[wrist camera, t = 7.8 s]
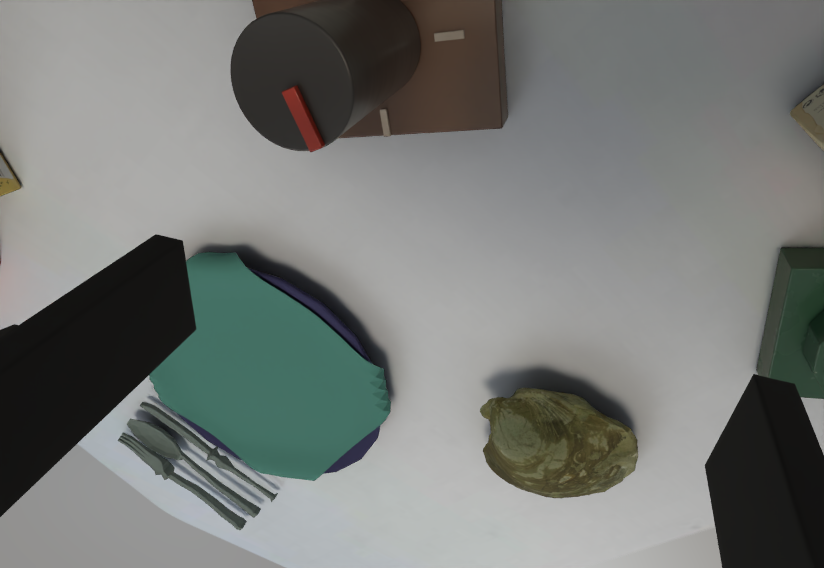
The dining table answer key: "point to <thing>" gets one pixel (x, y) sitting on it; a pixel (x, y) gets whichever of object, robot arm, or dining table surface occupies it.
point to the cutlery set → (261, 384)
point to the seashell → (556, 444)
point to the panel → (441, 70)
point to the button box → (796, 323)
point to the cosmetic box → (812, 116)
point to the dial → (322, 67)
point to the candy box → (7, 178)
